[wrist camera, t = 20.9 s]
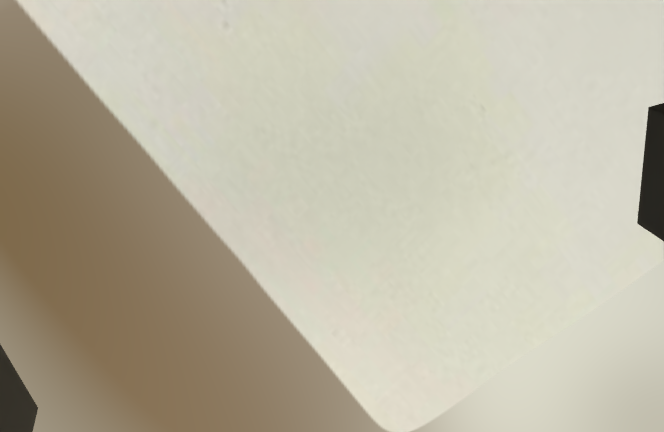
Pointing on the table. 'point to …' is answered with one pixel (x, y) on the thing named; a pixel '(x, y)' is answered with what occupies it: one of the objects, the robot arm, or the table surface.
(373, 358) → the table surface
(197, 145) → the table surface
